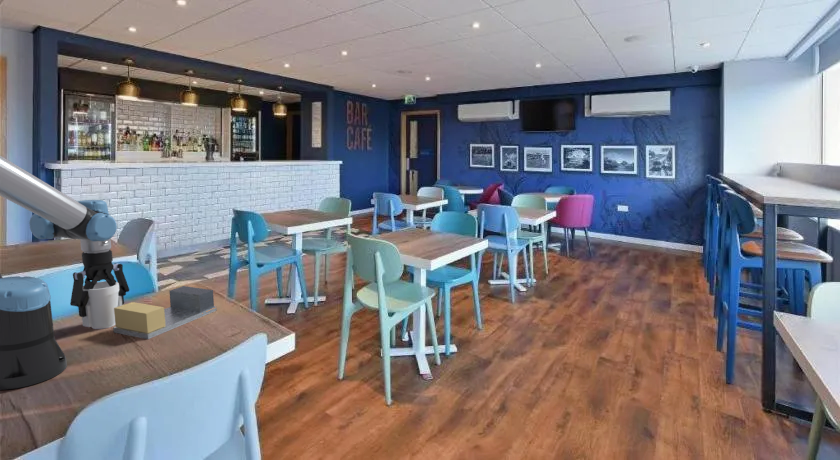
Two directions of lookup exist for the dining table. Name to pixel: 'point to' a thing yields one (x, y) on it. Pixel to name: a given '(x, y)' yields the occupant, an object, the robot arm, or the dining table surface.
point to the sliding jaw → (139, 317)
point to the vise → (179, 310)
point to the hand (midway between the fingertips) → (103, 320)
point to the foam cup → (103, 304)
